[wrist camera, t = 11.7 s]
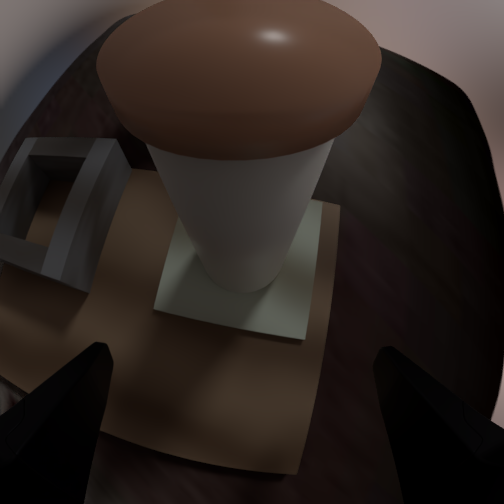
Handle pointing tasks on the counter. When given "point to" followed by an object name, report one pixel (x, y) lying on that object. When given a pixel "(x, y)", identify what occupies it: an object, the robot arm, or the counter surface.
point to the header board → (159, 309)
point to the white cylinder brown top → (239, 116)
